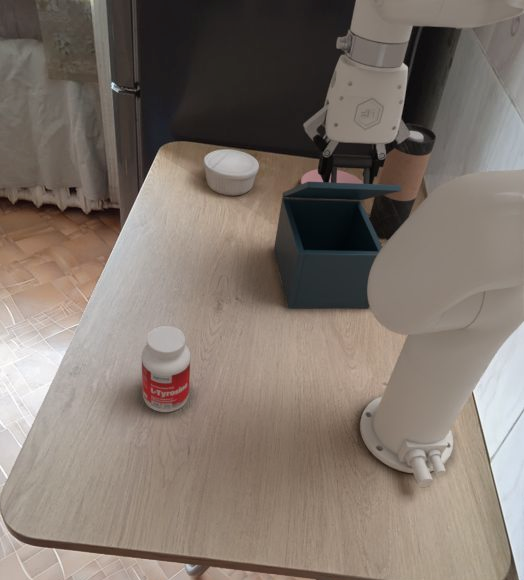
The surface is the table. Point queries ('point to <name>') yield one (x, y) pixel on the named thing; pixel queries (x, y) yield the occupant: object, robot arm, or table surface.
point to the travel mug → (402, 180)
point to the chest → (325, 252)
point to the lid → (343, 189)
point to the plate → (341, 178)
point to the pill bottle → (165, 369)
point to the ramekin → (230, 171)
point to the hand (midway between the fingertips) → (346, 178)
